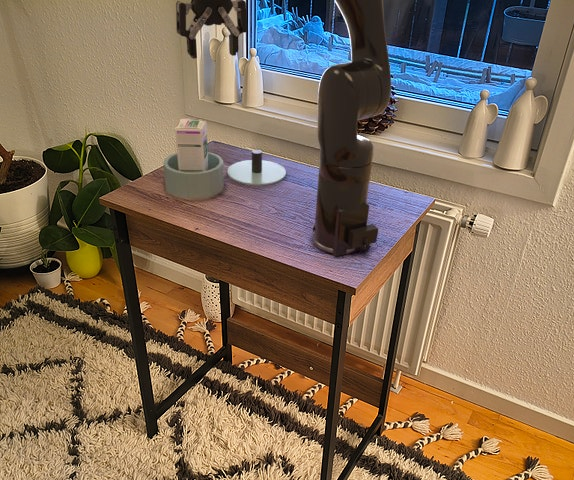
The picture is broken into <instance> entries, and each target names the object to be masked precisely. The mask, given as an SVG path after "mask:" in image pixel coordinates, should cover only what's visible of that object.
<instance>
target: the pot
mask: <svg viewBox="0 0 574 480" xmlns="http://www.w3.org/2000/svg"><path fill="white" fill-rule="evenodd" d="M208 160H209V170H208V171H203V172H182V171H179V168H178V158H177V152H175V153H173V154H170V155H168V156H167V157H166V158H165V159H163V174H164V184H165V191H166V193H167V194H168V195H169V196H170V197H172V196H174V197H176V198H180V199H185V200H201V199H207V198H211V197H214V196H217V195H219V194H220V193H221V191H223V190H224V183H225V182H224V181H225V180H224V159H223V158H222V157H221V156H220V155H218V154H216V153H213V152H211V151H208Z"/></svg>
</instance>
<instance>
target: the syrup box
mask: <svg viewBox="0 0 574 480" xmlns="http://www.w3.org/2000/svg"><path fill="white" fill-rule="evenodd" d="M207 129H208V128H207V120H206V119H200V118H180V119H179V121H178V123H177V124H176V126H175V128H174V134H175V144H176V145H175V147H176V153H177V158H178V168H179V171H182V172H203V171H208V170H209V160H208V152H209V144H208V133H207V132H208V131H207Z"/></svg>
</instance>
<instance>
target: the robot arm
mask: <svg viewBox="0 0 574 480" xmlns="http://www.w3.org/2000/svg"><path fill="white" fill-rule="evenodd" d="M334 2H335V4H336V6H337V8H338V9H339V11H340V13H341V15H342V17H343V20H344V22H345V24H346V27H347V31H348V35H349V43H350V55H351V61H347V62H342V63H337V64H334V65H330V66H329V67H327V69H325V70H324V72H323V73H322V75H321V77H320V81H319V84H318V91H317V125H316V128H317V129H316V132H317V133H316V134H317V140H318V145H319V161H318V162H319V163H318V175H317V188H316V189H317V190H316V202H315V214H314V215H315V217H314V225H313V228H312V233H313V236H312V242H313V244H314V246H315V247H316V248H317V249H318V250H320V251H323V252H324V253H328V254H332V255H333V256H335V257H342V256H345V255H350V254H354V253H357V252H361V253H362V254H366V253H368V252H369V251H370V249H371V248H370V247H371V245H372V244H375V243H377V241H378V235H379V228H378V227H377V226H376V225H375V224H374V223H371V224H368V220H369V213H370V204H368V196H369V188H370V181H371V175H372V167H373V158H374V144H373V143H372V141H371V140H370V139H368V138H366V137H365V136H362V135H359V134H358V121H360V120H365V119H369V118H372V117H377V116H379V115H381V114H382V113H384V112H385V110H386V109H387V107H388V106H389V104H390V101H391V96H392V74H391V65H390V58H389V57H390V56H389V50H388V42H387V41H388V40H387V35H386V25H385V13H384V12H385V11H384V0H334ZM190 10H191V12H193V14H194V16H193V17H192V19H191V21H190V24H189V26H188V27H187V15H188V14H189V12H190ZM232 10H234V12H236V22H237V26H236V25H235V23H234V21H233V20H232V18H231V17H230V16H229V15H230V13H231V12H232ZM175 13H176V14H175V17H176V18H175V22H176V24H175V25H176V33H177V35H180V36H181V37H184V38H185V39H186V52H187V54H188V55H189V56H190V57H191V59H194V60H195V59H197V58H198V54H197V53H198V51H197V39H196V36H198V35H197V34H198V33H199V31H201V30H202V28H203V27H204V25H205V26H206V27H211V26H213V25H216V26H222V24H223V25H224V27H225V28H226V30H227V31H228V32H229V34H228V53H229V56H230V55H231V56H232V57H234V56H237V53H239V50H240V49H239V47H240V46H239V36H241V34H243V33H244V34H245V33H247V31H248V30H249V29H248V14H247V2H246V1H245V0H191V1H190V2H182V1H181V0H177V1H176V3H175Z"/></svg>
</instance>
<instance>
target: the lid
mask: <svg viewBox="0 0 574 480" xmlns="http://www.w3.org/2000/svg"><path fill="white" fill-rule="evenodd" d="M286 175H287V170H286V168H285V167H284V166H282V165H281V164H279V163H276V162H274V161H270V160H264V159H263V151H262V150H261V149H252V151H251V159H247V160H241V161H238V162H237V161H236V162H235V163H233V164H231V165H230V166H229V167H228V168H227V176H228V178H229V179H230V180H232V181H234V182H236V183H238V184H241V185H246V186H255V187H257V186H258V187H261V186H269V185H275V184H277V183H279V182H280V183H281V182H282V181H283V180H284V179H285V178H286Z"/></svg>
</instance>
